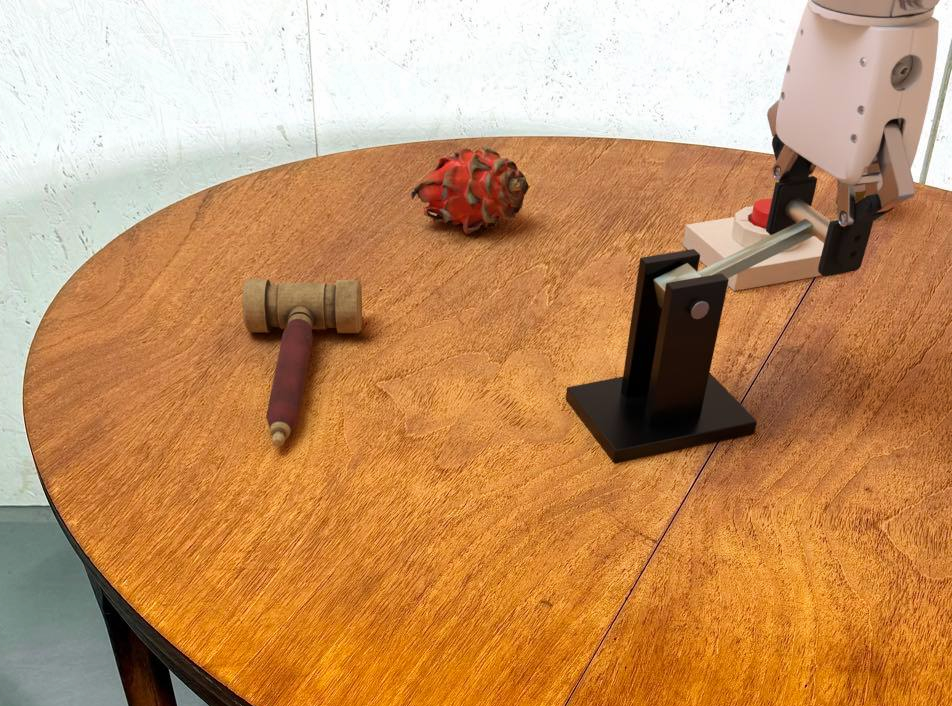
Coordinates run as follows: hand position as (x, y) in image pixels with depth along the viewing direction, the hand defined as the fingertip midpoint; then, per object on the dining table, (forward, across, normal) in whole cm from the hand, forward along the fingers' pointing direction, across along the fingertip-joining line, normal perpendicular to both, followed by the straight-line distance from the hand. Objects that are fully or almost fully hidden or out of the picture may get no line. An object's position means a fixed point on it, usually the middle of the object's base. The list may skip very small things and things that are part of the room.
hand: (811, 248), depth 78 cm
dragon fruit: (+13, +37, +13) cm, 41 cm away
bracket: (+12, 0, +11) cm, 16 cm away
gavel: (+12, +14, +37) cm, 41 cm away
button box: (+13, +21, -11) cm, 27 cm away
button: (+9, +21, -11) cm, 26 cm away
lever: (+1, 0, +5) cm, 5 cm away
